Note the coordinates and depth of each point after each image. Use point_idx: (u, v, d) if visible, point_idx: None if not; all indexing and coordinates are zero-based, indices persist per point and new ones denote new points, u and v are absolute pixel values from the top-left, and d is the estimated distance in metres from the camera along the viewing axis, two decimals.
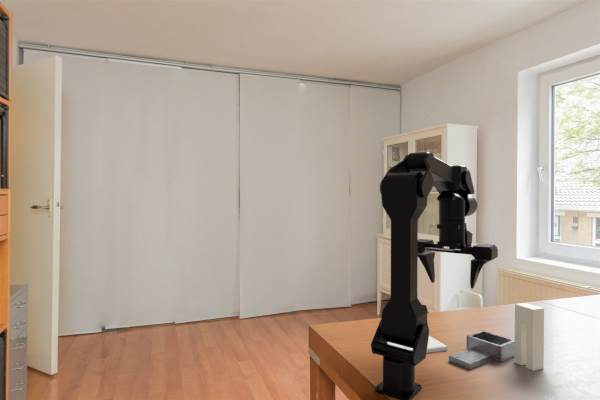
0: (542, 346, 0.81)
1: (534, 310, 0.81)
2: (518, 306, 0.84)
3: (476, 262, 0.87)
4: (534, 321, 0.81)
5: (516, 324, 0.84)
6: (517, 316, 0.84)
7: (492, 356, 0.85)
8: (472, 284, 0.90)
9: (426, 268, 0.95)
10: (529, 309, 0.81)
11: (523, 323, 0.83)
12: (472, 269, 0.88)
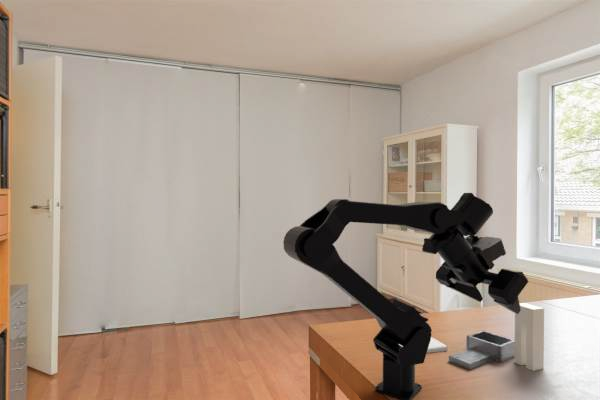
0: (542, 346, 0.81)
1: (534, 310, 0.81)
2: None
3: (499, 303, 0.72)
4: (534, 321, 0.81)
5: (516, 324, 0.84)
6: (517, 316, 0.84)
7: (492, 356, 0.85)
8: (514, 312, 0.75)
9: (464, 294, 0.84)
10: (529, 309, 0.81)
11: (523, 323, 0.83)
12: (502, 305, 0.74)
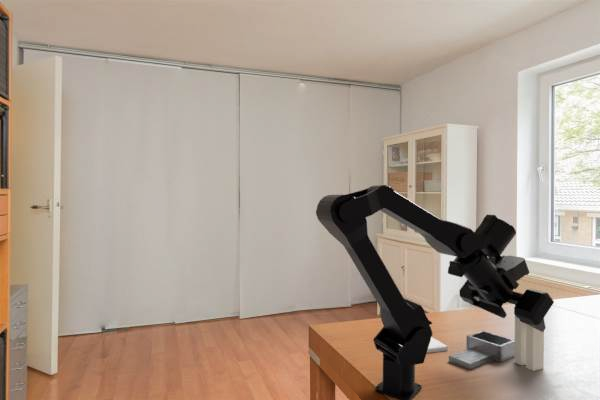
0: (542, 346, 0.81)
1: None
2: None
3: (525, 323, 0.74)
4: None
5: (516, 324, 0.84)
6: None
7: (492, 356, 0.85)
8: (539, 330, 0.77)
9: (488, 311, 0.86)
10: None
11: (523, 323, 0.83)
12: (527, 324, 0.76)
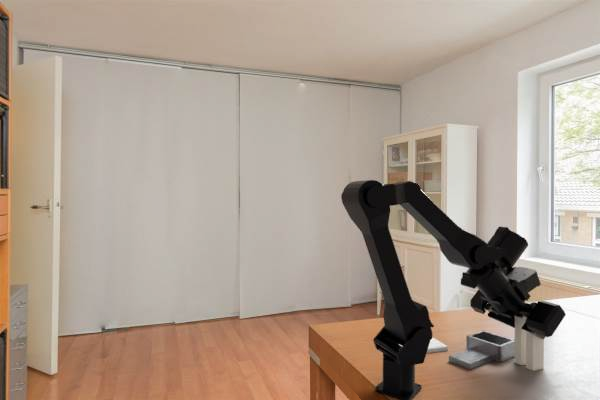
0: (542, 346, 0.81)
1: None
2: None
3: (527, 330, 0.77)
4: None
5: (516, 324, 0.84)
6: None
7: (492, 356, 0.85)
8: (540, 337, 0.81)
9: (507, 324, 0.85)
10: None
11: (523, 323, 0.83)
12: (529, 332, 0.79)
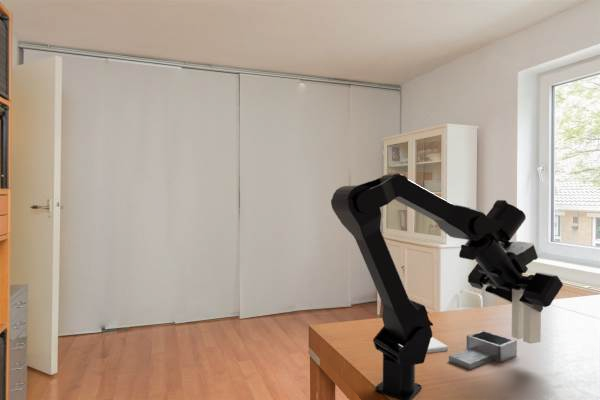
0: (539, 319, 0.82)
1: None
2: None
3: (525, 302, 0.78)
4: None
5: (513, 298, 0.85)
6: (515, 290, 0.84)
7: (492, 356, 0.85)
8: (537, 310, 0.81)
9: (504, 299, 0.86)
10: None
11: None
12: (526, 304, 0.79)
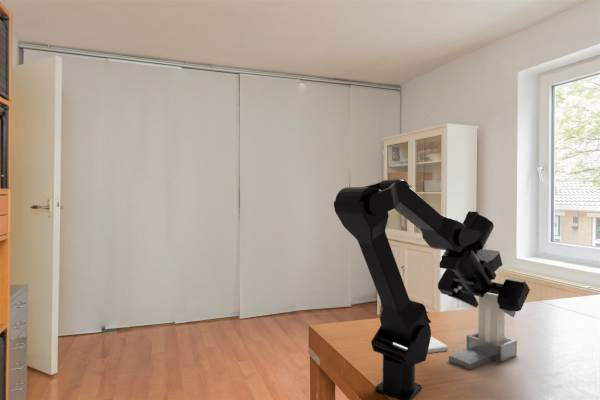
0: (503, 328, 0.89)
1: None
2: None
3: (505, 309, 0.82)
4: (498, 306, 0.87)
5: (480, 310, 0.90)
6: (481, 302, 0.90)
7: (492, 356, 0.85)
8: (511, 315, 0.86)
9: (464, 302, 0.92)
10: (493, 295, 0.88)
11: (487, 308, 0.90)
12: (504, 311, 0.83)
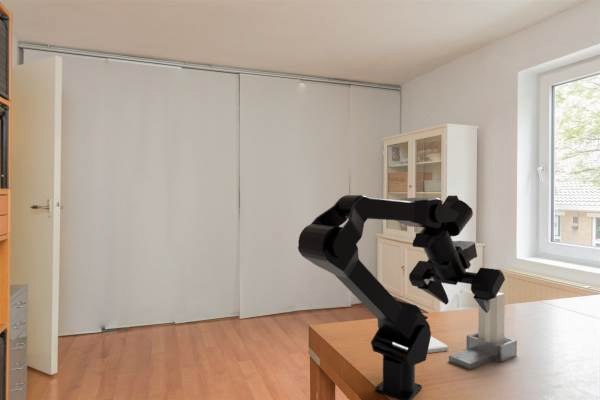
0: (503, 328, 0.88)
1: (498, 296, 0.87)
2: None
3: (479, 299, 0.76)
4: (498, 306, 0.87)
5: (480, 310, 0.90)
6: None
7: (492, 356, 0.85)
8: (485, 310, 0.80)
9: (434, 296, 0.87)
10: None
11: None
12: (479, 302, 0.78)
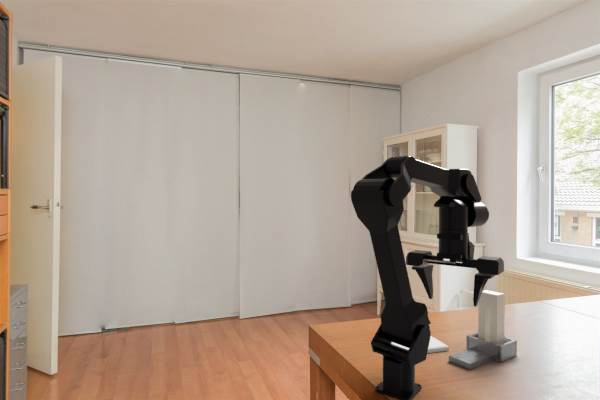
0: (503, 328, 0.88)
1: (498, 296, 0.87)
2: (482, 293, 0.90)
3: (481, 277, 0.78)
4: (498, 306, 0.87)
5: (480, 310, 0.90)
6: (481, 302, 0.90)
7: (492, 356, 0.85)
8: (475, 301, 0.80)
9: (424, 282, 0.86)
10: (493, 295, 0.88)
11: (487, 309, 0.90)
12: (476, 284, 0.79)
